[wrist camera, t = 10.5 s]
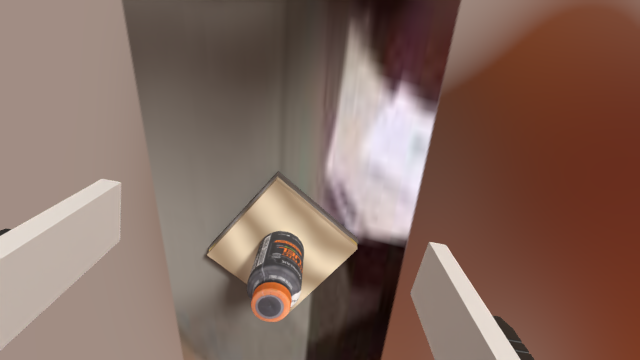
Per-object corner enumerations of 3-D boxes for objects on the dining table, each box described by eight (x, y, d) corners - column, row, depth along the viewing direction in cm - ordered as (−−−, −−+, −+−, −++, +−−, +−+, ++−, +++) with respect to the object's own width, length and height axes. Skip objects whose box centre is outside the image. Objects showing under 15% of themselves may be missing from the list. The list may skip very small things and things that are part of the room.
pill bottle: (313, 248, 46) (312, 305, 35) (284, 277, 47) (274, 341, 36) (278, 220, 44) (265, 271, 34) (249, 251, 46) (228, 309, 35)
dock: (278, 171, 45) (275, 178, 42) (357, 237, 48) (359, 248, 46) (211, 243, 49) (204, 255, 46) (289, 302, 52) (287, 315, 49)
